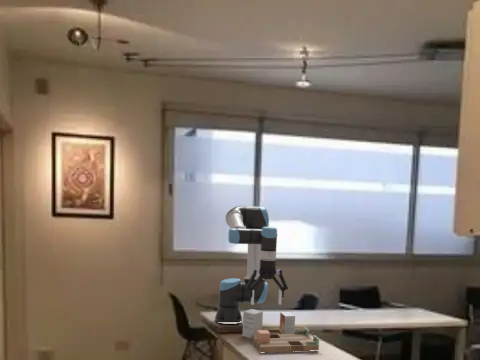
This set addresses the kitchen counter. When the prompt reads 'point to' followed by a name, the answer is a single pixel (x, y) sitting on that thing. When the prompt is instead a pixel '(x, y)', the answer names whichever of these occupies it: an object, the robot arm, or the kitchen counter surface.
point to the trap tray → (288, 342)
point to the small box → (287, 323)
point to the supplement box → (252, 322)
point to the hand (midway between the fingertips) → (266, 304)
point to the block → (263, 335)
